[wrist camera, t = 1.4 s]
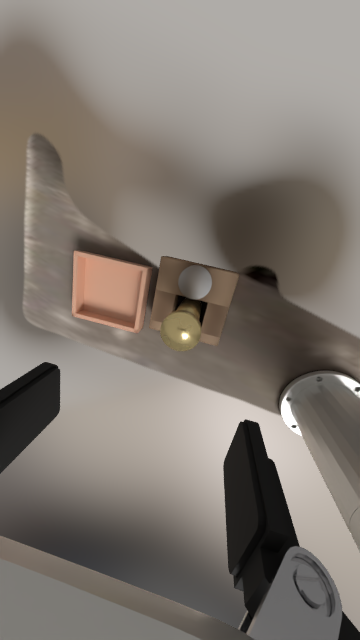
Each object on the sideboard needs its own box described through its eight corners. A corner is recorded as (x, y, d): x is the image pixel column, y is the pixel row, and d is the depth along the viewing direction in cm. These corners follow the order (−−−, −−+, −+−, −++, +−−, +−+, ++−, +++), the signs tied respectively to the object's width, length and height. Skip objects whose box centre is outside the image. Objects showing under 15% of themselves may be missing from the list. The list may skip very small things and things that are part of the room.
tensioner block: (235, 272, 28) (241, 275, 23) (216, 335, 31) (217, 351, 26) (168, 256, 29) (157, 256, 23) (156, 319, 32) (144, 332, 27)
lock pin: (207, 297, 30) (205, 318, 19) (201, 322, 31) (195, 355, 21) (180, 290, 30) (164, 308, 20) (175, 316, 32) (157, 345, 21)
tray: (152, 267, 30) (147, 268, 27) (142, 327, 33) (137, 333, 31) (84, 251, 31) (73, 250, 28) (81, 311, 34) (71, 315, 32)
